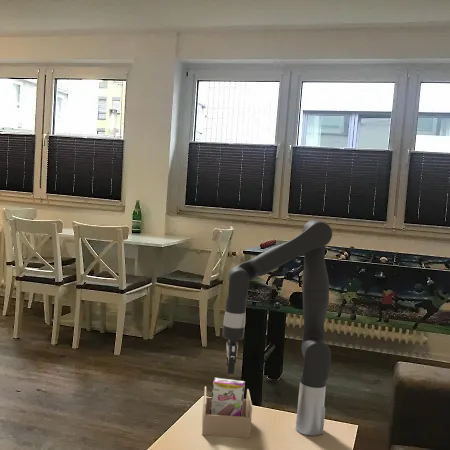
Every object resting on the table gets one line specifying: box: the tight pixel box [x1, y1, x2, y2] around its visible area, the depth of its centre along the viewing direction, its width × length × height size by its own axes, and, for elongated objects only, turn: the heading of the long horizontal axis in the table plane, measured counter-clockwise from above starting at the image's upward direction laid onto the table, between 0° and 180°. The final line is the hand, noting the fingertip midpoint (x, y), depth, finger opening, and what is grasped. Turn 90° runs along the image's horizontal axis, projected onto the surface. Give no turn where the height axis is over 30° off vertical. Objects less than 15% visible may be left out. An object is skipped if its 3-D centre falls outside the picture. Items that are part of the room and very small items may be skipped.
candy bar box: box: [210, 377, 246, 417], centre depth 200 cm, size 11×5×16 cm, turn 84°
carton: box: [201, 385, 253, 439], centre depth 200 cm, size 16×16×11 cm
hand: (229, 369), depth 199 cm, fingers open, 8 cm apart
